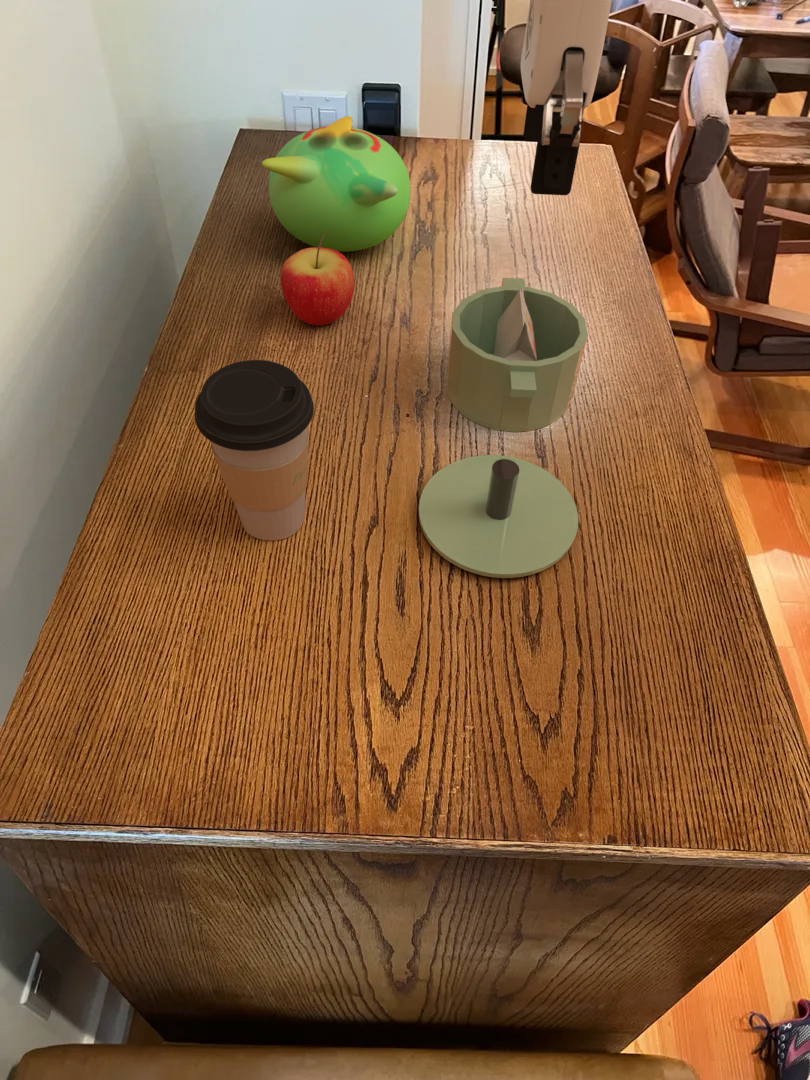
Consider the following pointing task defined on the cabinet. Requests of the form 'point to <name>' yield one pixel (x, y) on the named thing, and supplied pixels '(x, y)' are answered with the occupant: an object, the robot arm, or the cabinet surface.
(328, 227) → the toy bird
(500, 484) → the lid
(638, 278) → the cabinet surface
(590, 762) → the cabinet surface
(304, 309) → the apple
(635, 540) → the cabinet surface
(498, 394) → the pot
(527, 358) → the tea bag
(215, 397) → the coffee cup
